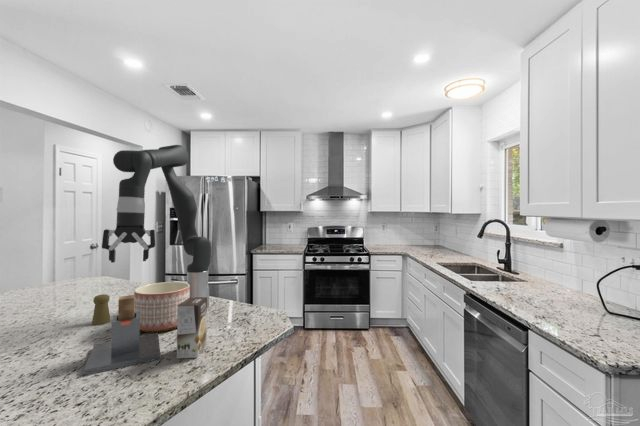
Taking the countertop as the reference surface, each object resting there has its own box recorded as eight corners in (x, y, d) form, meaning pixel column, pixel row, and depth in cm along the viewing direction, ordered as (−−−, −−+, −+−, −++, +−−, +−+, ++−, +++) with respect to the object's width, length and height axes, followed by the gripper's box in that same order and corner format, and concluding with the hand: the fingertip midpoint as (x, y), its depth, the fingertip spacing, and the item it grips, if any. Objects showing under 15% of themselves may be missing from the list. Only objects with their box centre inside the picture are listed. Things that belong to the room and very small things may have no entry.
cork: (100, 325, 111) (100, 297, 111) (87, 324, 112) (88, 296, 113) (114, 320, 117) (114, 293, 117) (102, 319, 118) (102, 292, 118)
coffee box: (197, 358, 87) (198, 305, 87) (176, 359, 86) (176, 305, 86) (207, 344, 96) (207, 296, 96) (187, 345, 95) (188, 297, 96)
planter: (199, 319, 119) (200, 283, 119) (160, 338, 101) (160, 296, 101) (164, 313, 125) (164, 280, 125) (121, 330, 107) (122, 291, 107)
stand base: (158, 336, 102) (158, 304, 102) (160, 358, 86) (160, 320, 87) (94, 348, 92) (94, 313, 92) (84, 375, 77) (84, 333, 77)
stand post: (134, 344, 92) (135, 294, 92) (134, 349, 89) (134, 298, 89) (118, 347, 90) (119, 296, 90) (117, 352, 86) (117, 300, 87)
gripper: (157, 212, 99) (155, 259, 99) (107, 211, 93) (104, 261, 93) (155, 212, 93) (153, 262, 92) (101, 210, 86) (98, 264, 86)
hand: (129, 261), depth 92 cm, fingers open, 8 cm apart
